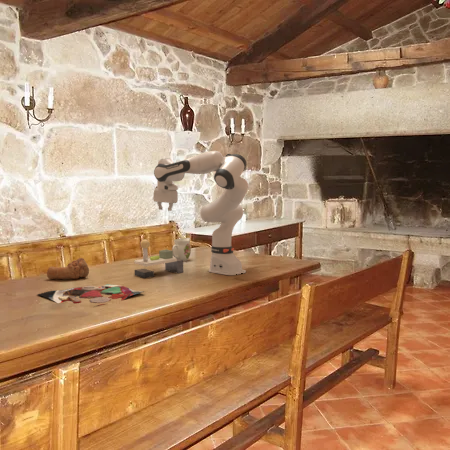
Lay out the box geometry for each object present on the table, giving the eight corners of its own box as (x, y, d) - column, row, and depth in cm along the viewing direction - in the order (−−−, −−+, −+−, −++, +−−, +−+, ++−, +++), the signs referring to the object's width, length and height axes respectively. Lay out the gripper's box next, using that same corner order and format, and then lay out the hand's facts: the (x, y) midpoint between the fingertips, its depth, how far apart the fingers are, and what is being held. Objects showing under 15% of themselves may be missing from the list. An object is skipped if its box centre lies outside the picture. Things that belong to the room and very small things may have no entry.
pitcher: (165, 261, 296) (165, 240, 294) (182, 257, 311) (182, 237, 309) (179, 263, 290) (179, 241, 288) (196, 259, 305) (196, 238, 304)
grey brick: (183, 272, 264) (183, 260, 264) (145, 278, 248) (145, 265, 247) (170, 269, 273) (170, 257, 272) (133, 274, 257) (133, 262, 256)
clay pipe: (80, 289, 240) (94, 274, 253) (76, 270, 235) (91, 257, 248) (48, 285, 244) (64, 271, 258) (44, 267, 240) (60, 254, 253)
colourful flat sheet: (102, 283, 238) (102, 280, 238) (145, 296, 215) (145, 292, 215) (36, 296, 212) (36, 292, 212) (78, 312, 189) (78, 307, 189)
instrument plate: (164, 258, 269) (163, 235, 268) (176, 261, 261) (176, 237, 259) (134, 263, 256) (133, 238, 254) (146, 266, 247) (145, 241, 246)
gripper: (150, 186, 279) (150, 209, 281) (170, 187, 264) (170, 211, 266) (159, 186, 284) (159, 208, 285) (179, 187, 268) (179, 211, 270)
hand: (165, 210), depth 275 cm, fingers open, 8 cm apart
